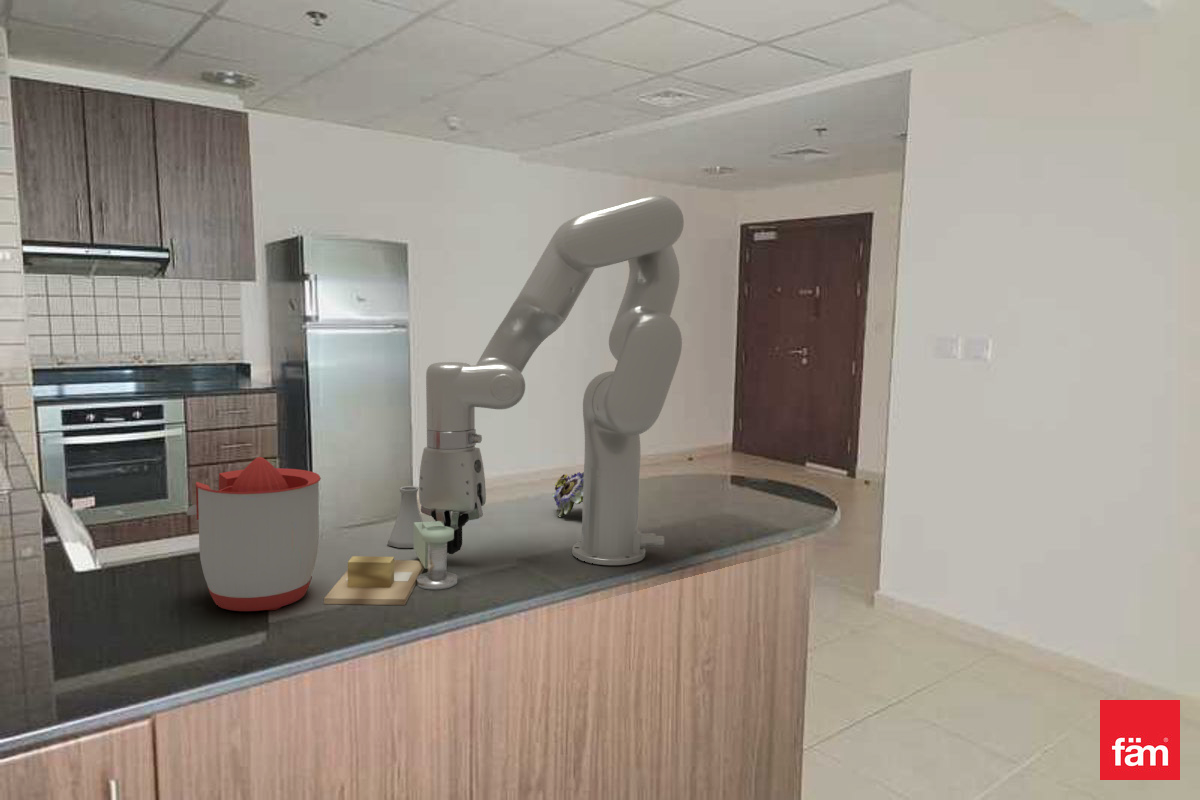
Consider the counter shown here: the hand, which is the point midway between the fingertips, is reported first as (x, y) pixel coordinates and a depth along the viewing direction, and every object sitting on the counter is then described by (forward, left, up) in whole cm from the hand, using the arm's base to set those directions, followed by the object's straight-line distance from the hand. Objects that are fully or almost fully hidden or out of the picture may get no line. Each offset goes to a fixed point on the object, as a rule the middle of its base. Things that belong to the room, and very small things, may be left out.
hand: (451, 551), depth 123 cm
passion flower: (-22, -32, -2) cm, 39 cm away
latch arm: (+3, +4, -1) cm, 5 cm away
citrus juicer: (+25, +16, -2) cm, 30 cm away
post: (+1, +9, -2) cm, 9 cm away
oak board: (+9, +10, -2) cm, 14 cm away
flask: (+9, -11, -2) cm, 14 cm away
